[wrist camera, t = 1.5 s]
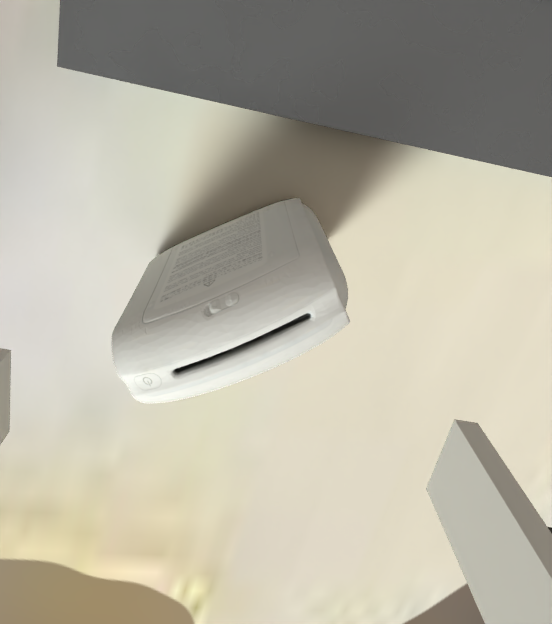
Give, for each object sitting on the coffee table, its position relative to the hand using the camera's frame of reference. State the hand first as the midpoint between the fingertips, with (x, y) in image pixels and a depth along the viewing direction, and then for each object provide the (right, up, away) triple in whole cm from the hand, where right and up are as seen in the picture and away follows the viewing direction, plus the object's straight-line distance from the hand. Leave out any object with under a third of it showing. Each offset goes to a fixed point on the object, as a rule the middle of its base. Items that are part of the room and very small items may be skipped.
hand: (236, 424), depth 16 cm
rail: (+7, +17, +11) cm, 22 cm away
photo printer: (-1, +7, +15) cm, 17 cm away
